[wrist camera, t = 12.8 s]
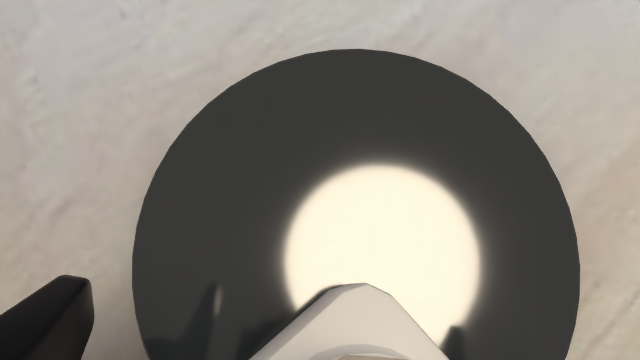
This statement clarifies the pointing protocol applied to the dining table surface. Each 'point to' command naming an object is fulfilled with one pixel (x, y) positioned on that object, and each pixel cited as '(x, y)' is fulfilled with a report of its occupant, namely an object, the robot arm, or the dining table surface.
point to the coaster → (355, 213)
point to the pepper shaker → (352, 330)
